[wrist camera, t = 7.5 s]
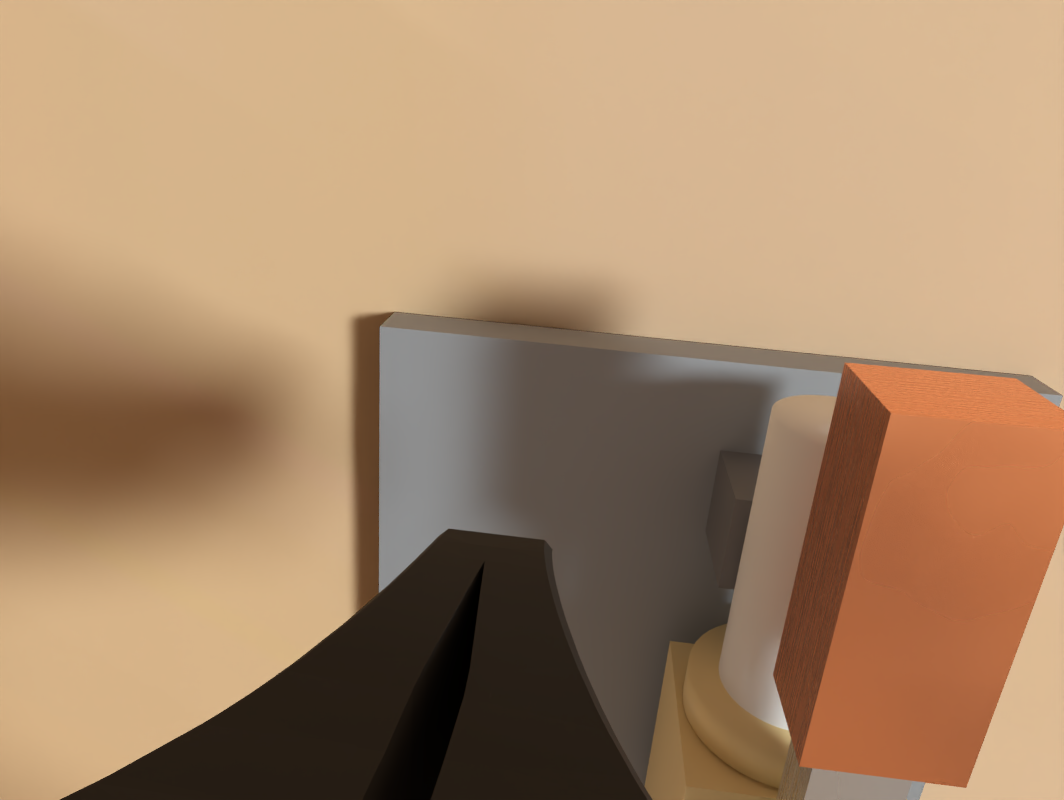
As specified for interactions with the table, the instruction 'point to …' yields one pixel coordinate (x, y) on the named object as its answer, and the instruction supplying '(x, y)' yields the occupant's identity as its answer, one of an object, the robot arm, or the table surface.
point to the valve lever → (915, 578)
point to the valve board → (628, 513)
